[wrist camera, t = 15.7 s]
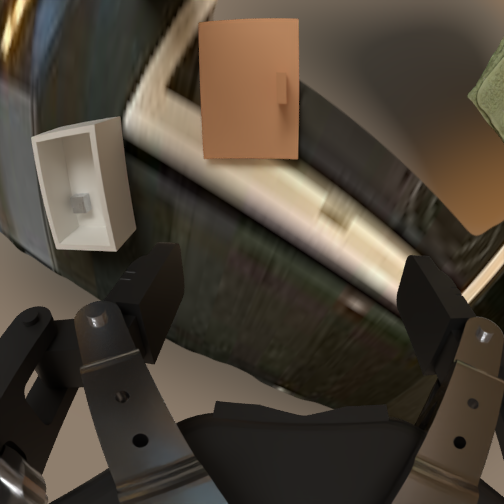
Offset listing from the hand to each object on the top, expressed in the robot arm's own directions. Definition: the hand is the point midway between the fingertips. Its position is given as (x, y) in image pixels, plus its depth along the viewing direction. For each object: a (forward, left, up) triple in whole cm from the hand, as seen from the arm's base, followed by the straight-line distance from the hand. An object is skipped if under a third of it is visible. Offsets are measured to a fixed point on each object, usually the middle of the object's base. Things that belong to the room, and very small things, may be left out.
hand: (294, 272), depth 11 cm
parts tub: (+33, +7, -38) cm, 50 cm away
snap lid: (+5, -6, -38) cm, 39 cm away
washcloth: (-38, -12, -38) cm, 55 cm away
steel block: (+36, +11, -37) cm, 52 cm away
